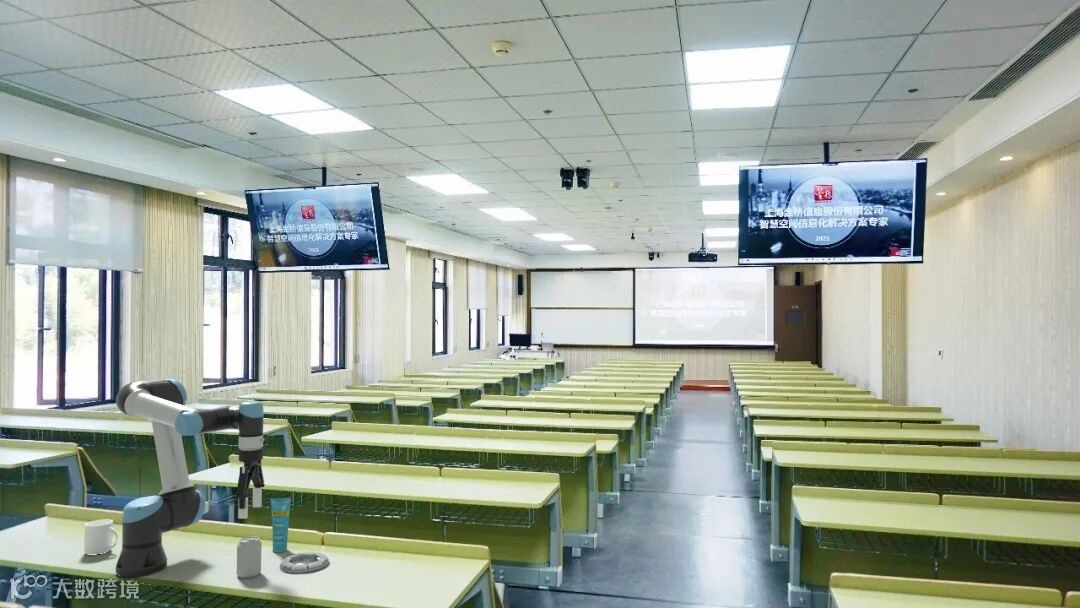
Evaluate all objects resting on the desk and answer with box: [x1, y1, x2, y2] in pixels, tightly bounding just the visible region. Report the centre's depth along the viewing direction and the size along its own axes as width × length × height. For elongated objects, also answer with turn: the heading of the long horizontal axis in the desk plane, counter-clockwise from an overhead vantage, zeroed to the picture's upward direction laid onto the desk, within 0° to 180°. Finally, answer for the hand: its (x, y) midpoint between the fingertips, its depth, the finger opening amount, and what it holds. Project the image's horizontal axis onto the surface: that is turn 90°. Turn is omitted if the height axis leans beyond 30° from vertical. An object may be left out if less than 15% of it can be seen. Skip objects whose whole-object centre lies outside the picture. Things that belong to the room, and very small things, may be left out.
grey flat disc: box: [279, 551, 330, 575], centre depth 232 cm, size 16×16×2 cm
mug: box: [83, 518, 118, 554], centre depth 245 cm, size 9×12×11 cm
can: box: [236, 535, 262, 579], centre depth 223 cm, size 8×8×12 cm
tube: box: [270, 497, 292, 553], centre depth 248 cm, size 7×5×19 cm, turn 98°
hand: (250, 512), depth 224 cm, fingers open, 13 cm apart
